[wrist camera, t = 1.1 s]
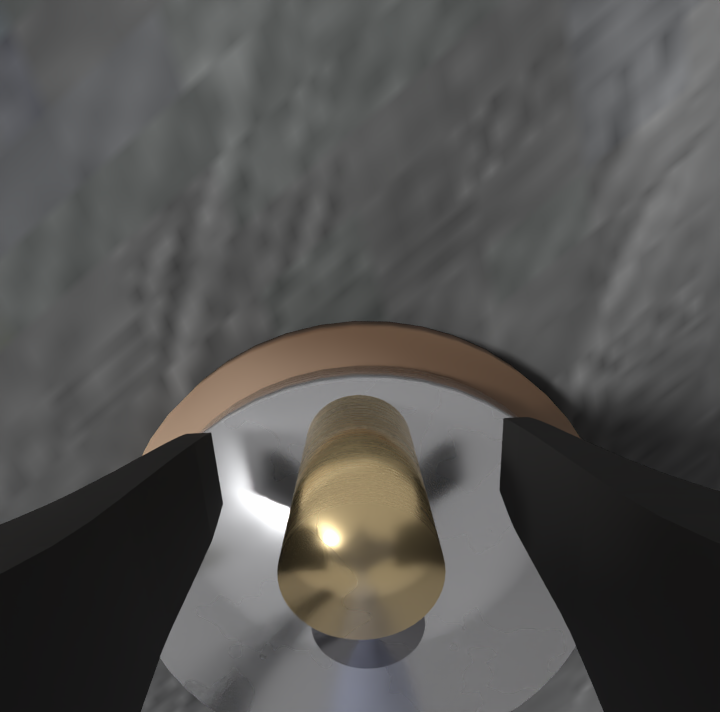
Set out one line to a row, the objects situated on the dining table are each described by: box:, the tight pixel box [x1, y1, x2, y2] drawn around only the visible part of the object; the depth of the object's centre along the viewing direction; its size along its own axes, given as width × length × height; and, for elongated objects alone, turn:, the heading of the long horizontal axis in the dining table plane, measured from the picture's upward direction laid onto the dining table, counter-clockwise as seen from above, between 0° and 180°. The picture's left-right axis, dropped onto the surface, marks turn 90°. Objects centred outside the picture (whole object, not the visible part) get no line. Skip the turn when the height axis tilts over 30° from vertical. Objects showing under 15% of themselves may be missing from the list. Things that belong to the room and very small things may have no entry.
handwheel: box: [160, 366, 576, 712], centre depth 11 cm, size 14×14×6 cm
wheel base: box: [142, 321, 581, 456], centre depth 13 cm, size 16×18×4 cm
